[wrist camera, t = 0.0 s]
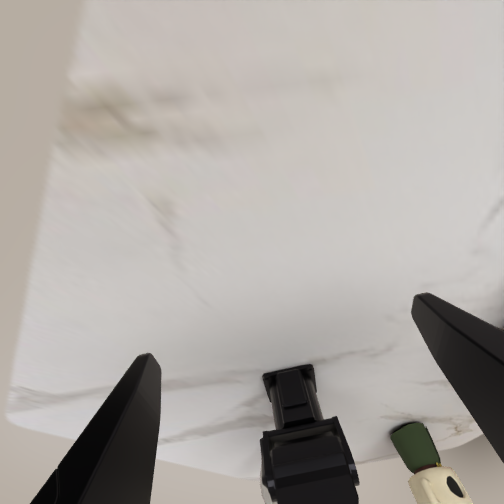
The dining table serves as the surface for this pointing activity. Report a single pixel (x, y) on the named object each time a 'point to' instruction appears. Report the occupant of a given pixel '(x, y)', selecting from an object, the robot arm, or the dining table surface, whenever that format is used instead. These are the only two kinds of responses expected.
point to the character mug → (427, 468)
